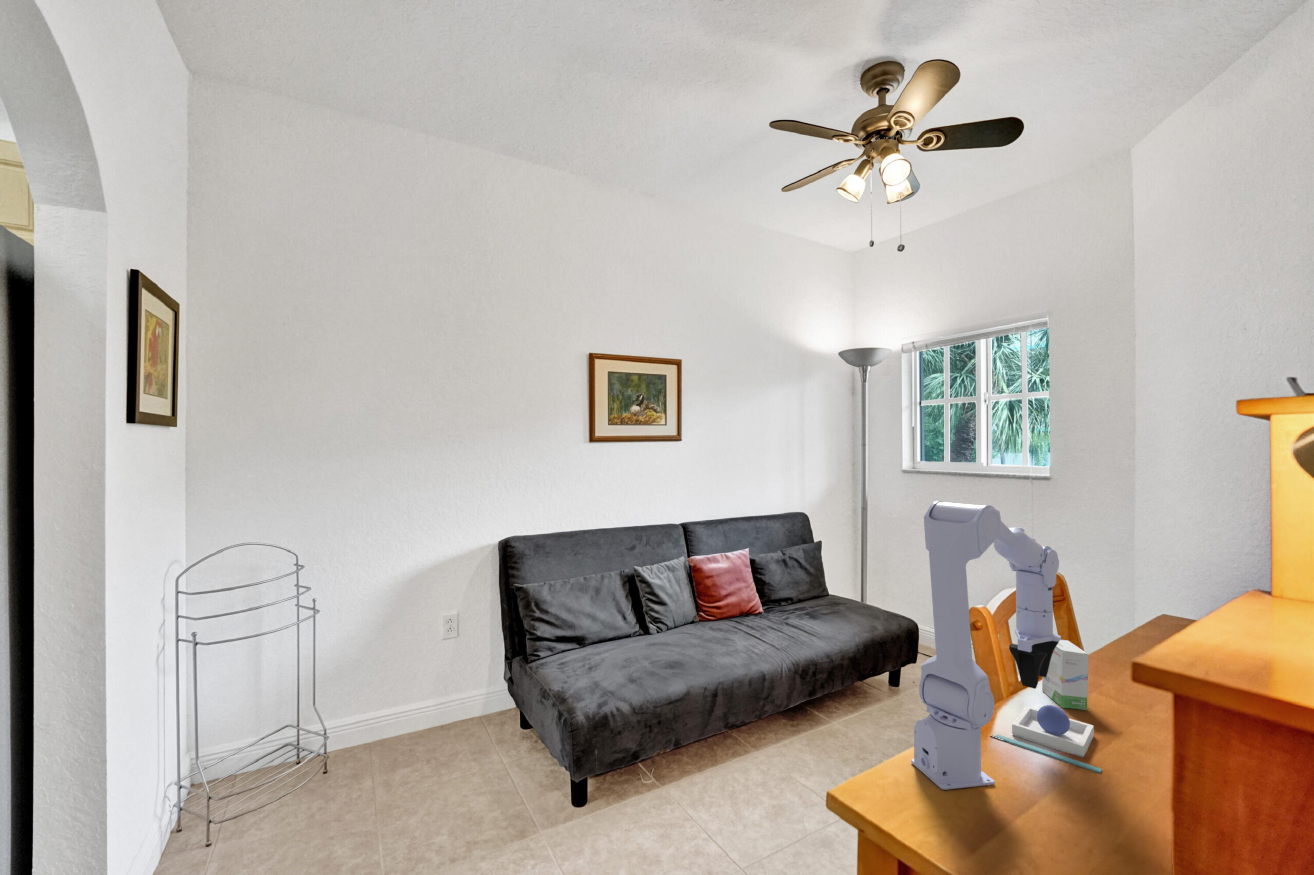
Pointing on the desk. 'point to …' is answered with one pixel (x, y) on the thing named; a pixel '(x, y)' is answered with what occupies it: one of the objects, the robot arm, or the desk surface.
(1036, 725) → the tray
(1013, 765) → the desk surface
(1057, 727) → the ball
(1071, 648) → the ink box
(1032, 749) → the teal line
